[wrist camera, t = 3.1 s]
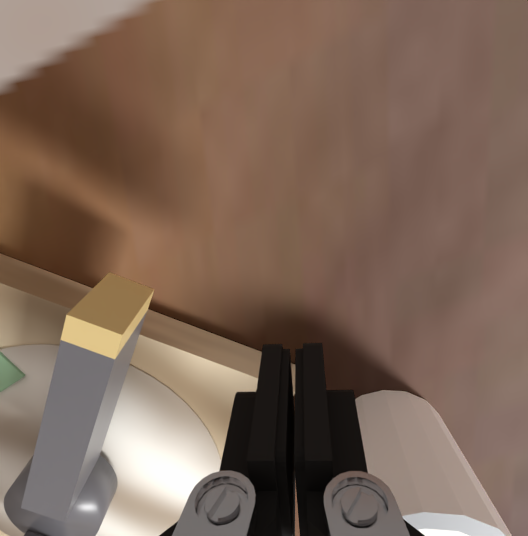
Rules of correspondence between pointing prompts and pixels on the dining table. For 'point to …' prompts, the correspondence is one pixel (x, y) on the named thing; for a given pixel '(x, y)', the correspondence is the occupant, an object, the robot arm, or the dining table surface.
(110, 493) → the grey dial pointer
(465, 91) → the dining table surface
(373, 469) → the white cup
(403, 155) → the dining table surface
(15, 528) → the tuner board
